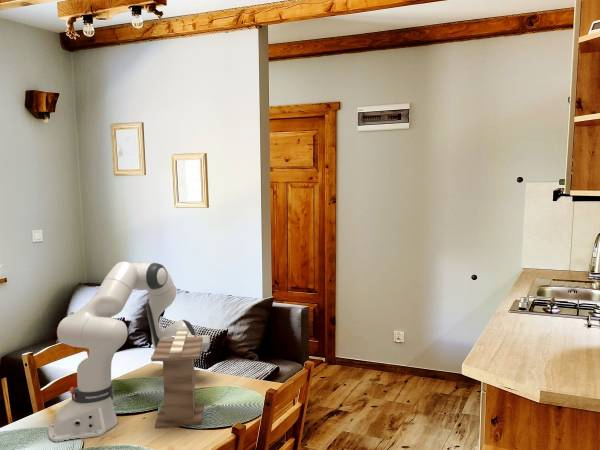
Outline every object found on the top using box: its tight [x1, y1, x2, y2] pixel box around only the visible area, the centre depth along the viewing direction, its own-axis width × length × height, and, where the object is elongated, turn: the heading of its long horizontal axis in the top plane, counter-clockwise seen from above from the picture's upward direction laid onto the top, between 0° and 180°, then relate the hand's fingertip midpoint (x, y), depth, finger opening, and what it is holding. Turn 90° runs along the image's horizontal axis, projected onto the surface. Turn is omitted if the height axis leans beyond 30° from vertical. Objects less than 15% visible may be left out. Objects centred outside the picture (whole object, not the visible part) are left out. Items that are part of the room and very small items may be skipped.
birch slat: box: [169, 328, 188, 358], centre depth 190 cm, size 30×4×2 cm, turn 8°
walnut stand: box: [150, 337, 205, 429], centre depth 187 cm, size 22×16×26 cm
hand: (184, 337), depth 209 cm, fingers open, 8 cm apart
